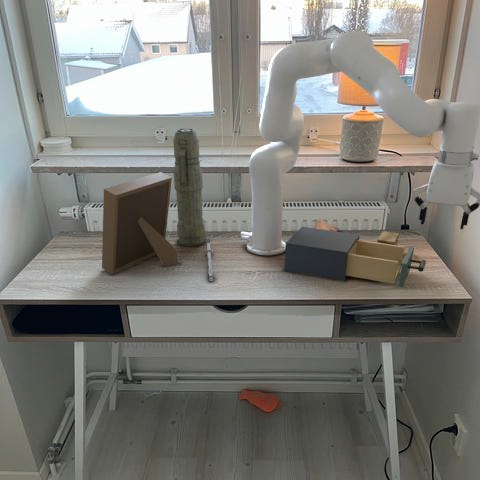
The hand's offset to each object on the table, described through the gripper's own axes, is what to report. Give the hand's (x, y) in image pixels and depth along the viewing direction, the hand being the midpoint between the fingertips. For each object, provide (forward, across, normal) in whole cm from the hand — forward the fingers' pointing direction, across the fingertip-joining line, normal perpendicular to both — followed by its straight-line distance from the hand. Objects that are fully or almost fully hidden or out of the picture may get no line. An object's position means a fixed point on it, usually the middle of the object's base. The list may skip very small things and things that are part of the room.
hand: (442, 225), depth 135 cm
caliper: (+17, +61, +14) cm, 65 cm away
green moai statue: (+16, +76, -2) cm, 78 cm away
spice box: (+17, +15, -17) cm, 28 cm away
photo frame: (+16, +79, +20) cm, 83 cm away
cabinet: (+16, +31, 0) cm, 35 cm away
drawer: (+16, +13, +1) cm, 20 cm away
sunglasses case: (+17, +36, -22) cm, 45 cm away
